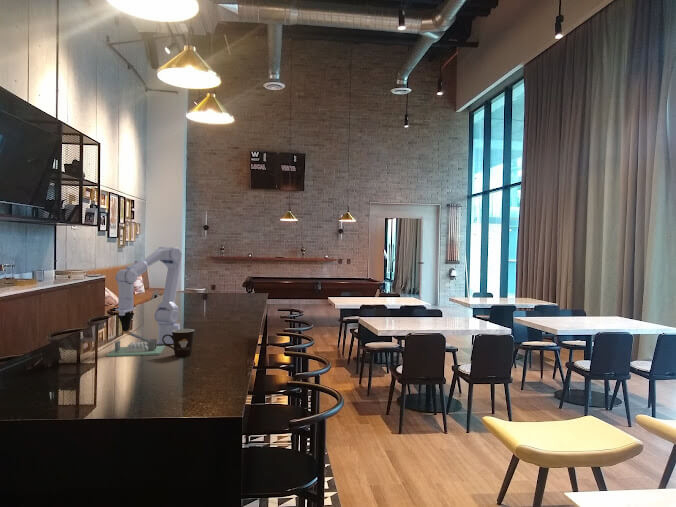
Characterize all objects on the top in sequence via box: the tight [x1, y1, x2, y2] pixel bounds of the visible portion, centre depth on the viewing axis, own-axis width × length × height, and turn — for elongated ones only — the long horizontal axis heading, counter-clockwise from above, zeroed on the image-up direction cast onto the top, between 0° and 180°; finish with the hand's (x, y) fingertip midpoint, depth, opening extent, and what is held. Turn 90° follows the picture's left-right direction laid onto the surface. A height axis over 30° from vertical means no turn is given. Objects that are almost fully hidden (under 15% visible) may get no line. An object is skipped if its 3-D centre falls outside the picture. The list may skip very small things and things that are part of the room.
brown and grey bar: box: [123, 330, 155, 343], centre depth 199 cm, size 13×4×2 cm, turn 101°
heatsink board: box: [106, 338, 166, 358], centre depth 199 cm, size 20×15×5 cm
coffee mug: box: [162, 328, 195, 358], centre depth 193 cm, size 12×9×10 cm
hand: (125, 330), depth 198 cm, fingers closed
